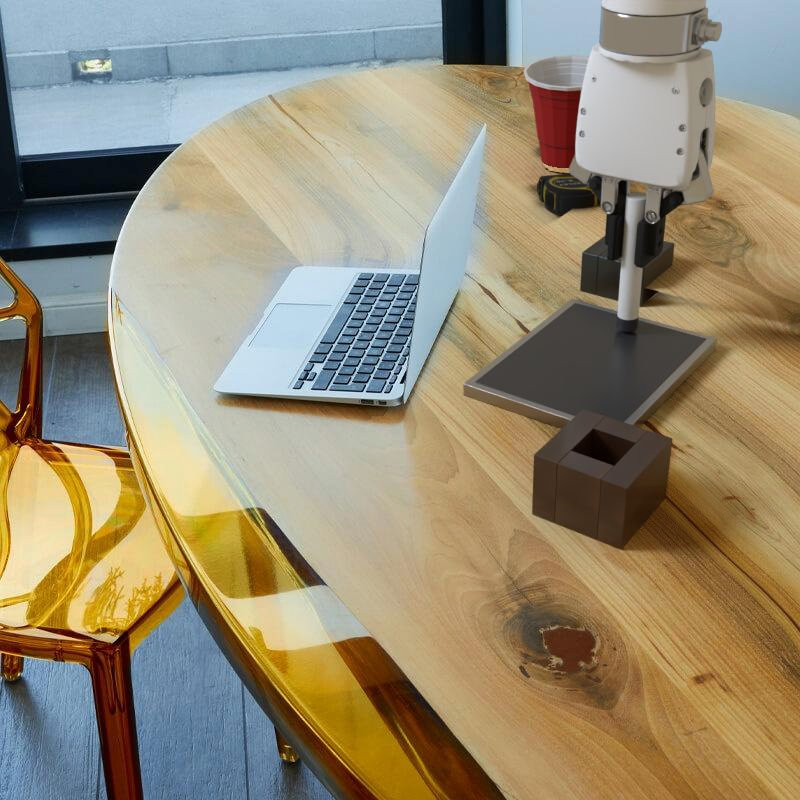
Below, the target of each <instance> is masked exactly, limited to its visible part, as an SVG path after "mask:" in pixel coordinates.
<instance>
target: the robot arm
mask: <svg viewBox="0 0 800 800" xmlns="http://www.w3.org/2000/svg"><path fill="white" fill-rule="evenodd" d="M706 6H707V0H601V1H600V19H599V20H600V21H599V22H600V23H599V36H598V37H599V39H598V41H599V42H597V43H595V44H594V45H593V46H592V47H591V50H590V53H589V55H588V56H589V60H588V64H587V68H586V72H585V76H584V81H583V86H582V91H581V97H580V103H579V110H578V118H577V129H576V143H575V155H574V158H573V160H572V162H571V164H570V167H569V172H570V173H569V174H571V175H572V176H574V177H575V178H577V179H578V180H580V181H581V182H583V183H585V184H588V185H589V187H590V189H591V190H592V191H593V193H594V194H595V195H596V197H597V198H598V199H599V201H600V202H601V203H600V210H601V211H602V213H604V214H605V215H606V216H605V217H606V219H605V233H604V236H605V244H606V245H608V252H607V259H608V260H611V261H615V260H618V259H619V258H620V257H621V256H622V245H623V232H624V218H625V205H626V195H627V194H629V193H631V183H635V184H641V185H644V186H646V193H645V194H646V205H645V213H644V218H643V219H642V220H641V221H639V222H638V225H637V234H636V246H635V258H634V264H635V265H636V267H639V268H644V267H645V266H646V265H647V264H649V263H650V262H651V261H652V260H653V259H655V258H656V257H657V256H658V255H660V253H661V252H662V249H663V242H664V241H665V240H664V239H665V231H666V230H665V229H666V219H667V215H669V214H670V213H671V212H673V211H674V210H676V209H677V208H678V207H680V206H685V205H686V206H688V205H693V204H698V203H703V202H706V201H707V200H709V198H711V197H712V196H713V195H714V192H715V191H714V186H713V184H712V179H711V175H710V169H711V167H712V164H713V157H714V149H715V134H716V77H715V65H714V64H715V63H714V57H713V51H712V50H711V49H708V48H702V47H703V46H704V45H705V43H708V42H718V41H719V40H720V38H721V35H722V32H723V25H722V22H720V21H713V20H712V19H710V18H709V15H708V14H709V7H706Z"/></svg>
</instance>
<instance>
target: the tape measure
mask: <svg viewBox="0 0 800 800" xmlns="http://www.w3.org/2000/svg"><path fill="white" fill-rule="evenodd" d="M536 192H537V194H538V200H539V201H540V202H541V203H542V204H543V205H544V208H545V209H546V210H547V211H548V213H551V214H554V215H557V216H562V217H563V216H564V215H566V214H567V213H569V212H571V211H572V210H581V209H588V208H593V207H595V206H598V205H600V204H601V202H600V201H599V199H598V198H597V197H596V195H595V194H594V193H593V191H592V190H591V189H590V187H589V185H588V184H585V183H583V182H581V181H580V180H578V179H577V178H575V177H574V176H572V175H571V174H570V173H566V174H564V173H559V174H551V175H550V174H548V175H542V176H539V177H538V182H536Z"/></svg>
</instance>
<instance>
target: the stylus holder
mask: <svg viewBox="0 0 800 800" xmlns="http://www.w3.org/2000/svg"><path fill="white" fill-rule="evenodd" d="M674 251H675V243H674V242H670V241H666V240H664V242H663V249H662V252H661V253H660V255H658V256H657V257H656V258H655V259H653V260H652V261H651V262H650V263H649V264H647V265H646V266H645V267H644V268H643V271H642V282H641V294H640V306H639V307H643V306H644V305H645V304H646V303H648V301H650V300H651V299H652V298H653V297H654V296H655V295H657V294H658V293H659V292H660V290H657V289H652V288H649V286H650V285H651V284H652V283H653V282H654V281H656V280H657V279H658V278H659V277H660V276H662V275H663V274H664V273H665V272H666V271H668V269H670V268H671V267H672V266H673V262H674V253H675V252H674ZM607 252H608V245H606V244H605V235H604V236H603V237H601V238H600V239H599V240H597V241H595V242H594V243H593V244H592V245H590V246H589V247H588V248H586V249H585V250H583V251H582V252H581V267H580V285H579V291H580V292H584V293H588V294H592V295H596V296H599V297H603V298H607V299H611V300H615V301H618V298H619V285H620V272H621V258H622V256H621V257H620V258H619V259H618V260H615V261H611V260H608V259H607Z"/></svg>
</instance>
